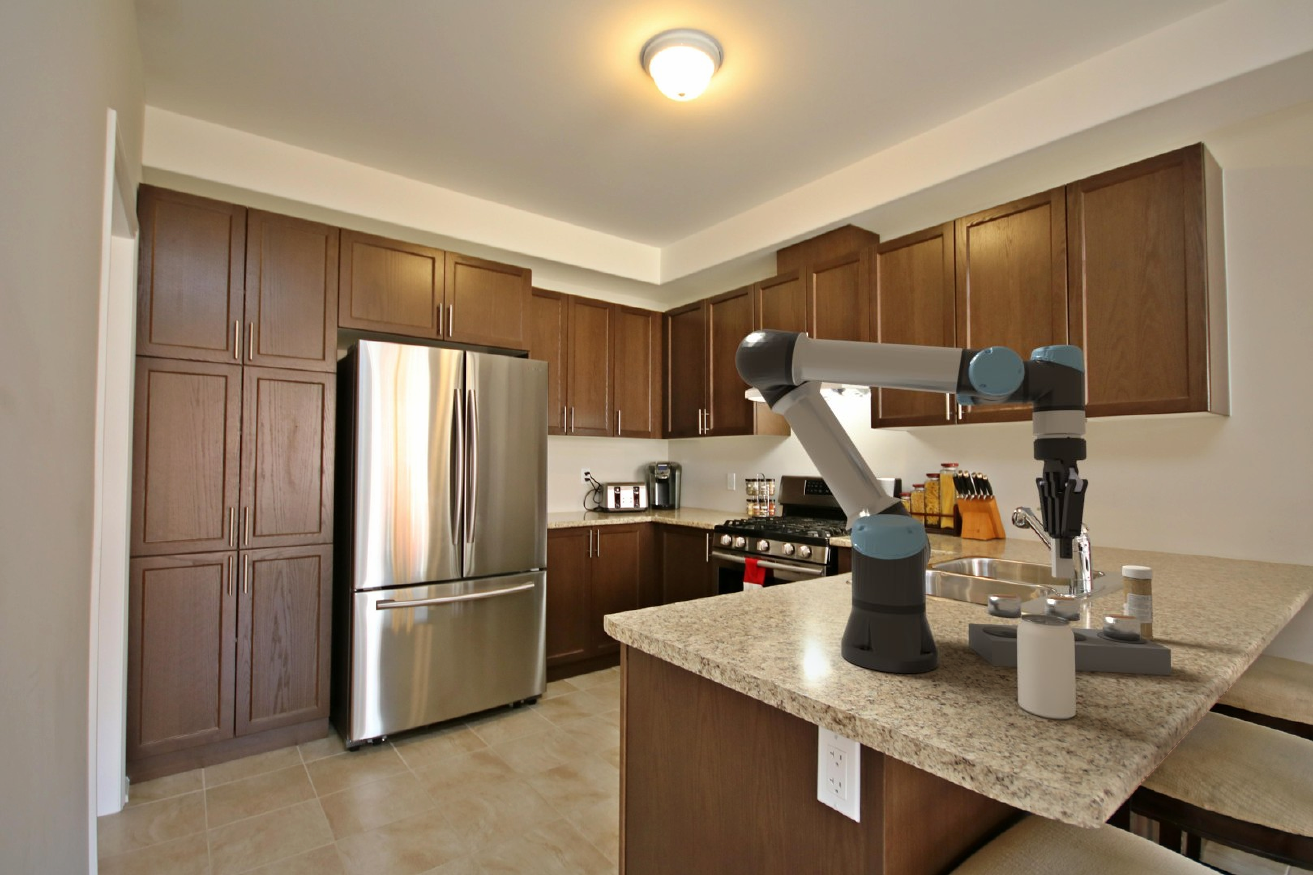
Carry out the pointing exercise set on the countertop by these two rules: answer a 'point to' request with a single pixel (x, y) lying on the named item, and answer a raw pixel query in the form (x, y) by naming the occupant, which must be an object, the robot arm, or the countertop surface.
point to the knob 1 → (1004, 606)
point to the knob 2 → (1121, 626)
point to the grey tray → (1077, 650)
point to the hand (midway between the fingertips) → (1062, 577)
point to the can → (1046, 666)
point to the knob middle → (1062, 607)
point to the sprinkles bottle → (1139, 596)
